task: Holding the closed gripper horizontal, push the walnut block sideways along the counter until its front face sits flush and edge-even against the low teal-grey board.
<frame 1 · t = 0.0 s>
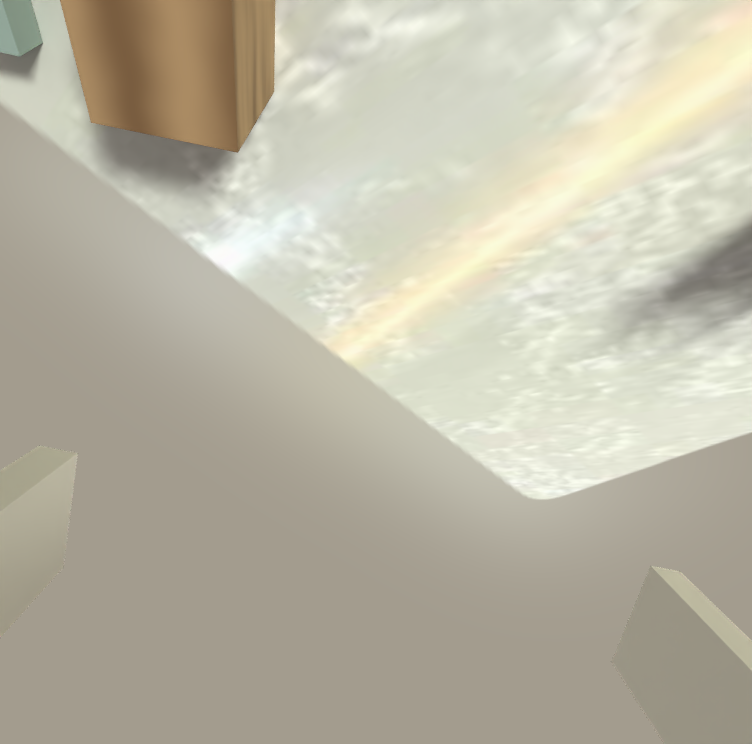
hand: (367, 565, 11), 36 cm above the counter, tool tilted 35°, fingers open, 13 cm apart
block: (209, 16, 35), on the counter
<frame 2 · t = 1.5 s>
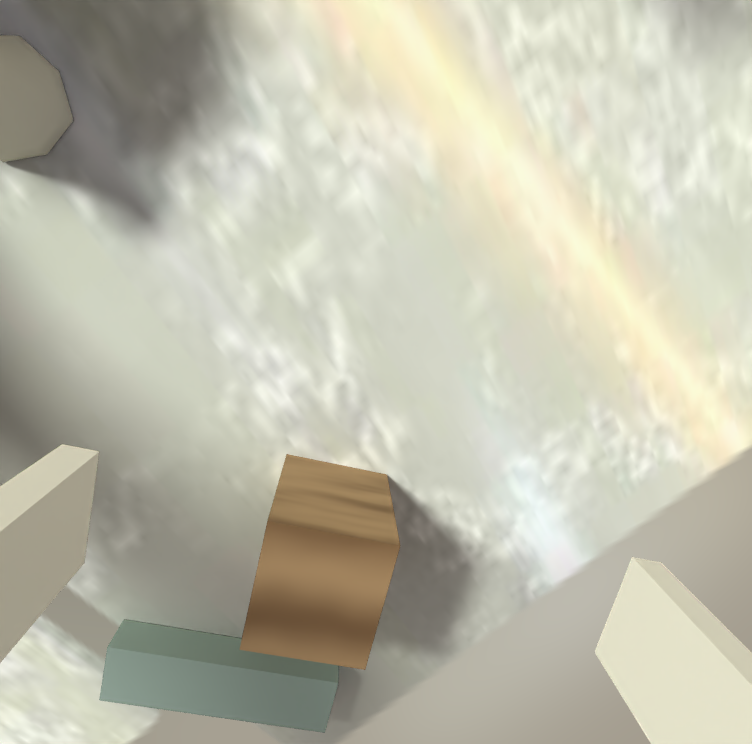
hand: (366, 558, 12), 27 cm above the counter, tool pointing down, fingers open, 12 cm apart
block: (324, 515, 41), on the counter
flask: (16, 102, 33), on the counter
board: (228, 661, 43), on the counter
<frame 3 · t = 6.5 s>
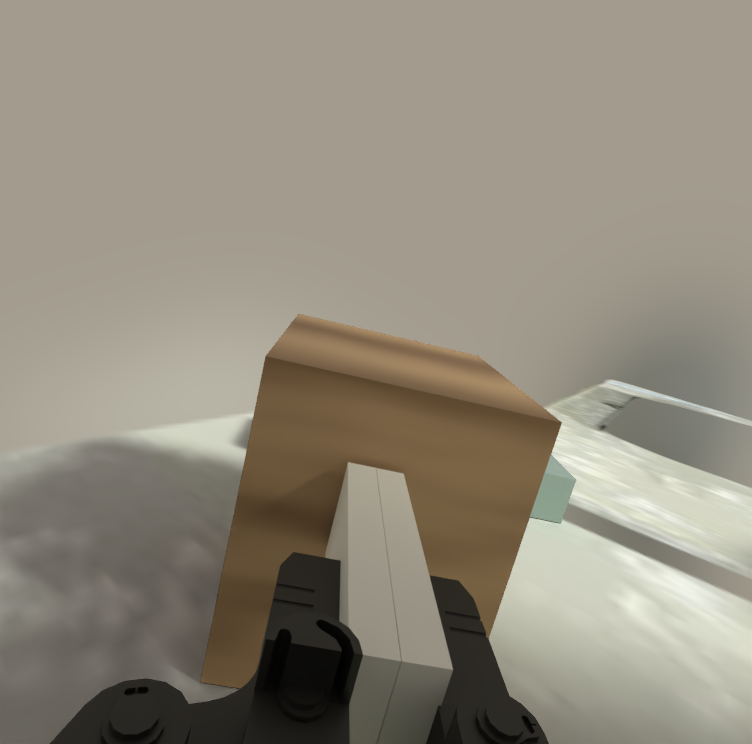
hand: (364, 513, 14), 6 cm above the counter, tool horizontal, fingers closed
block: (336, 602, 20), on the counter, touching gripper
board: (417, 477, 33), on the counter
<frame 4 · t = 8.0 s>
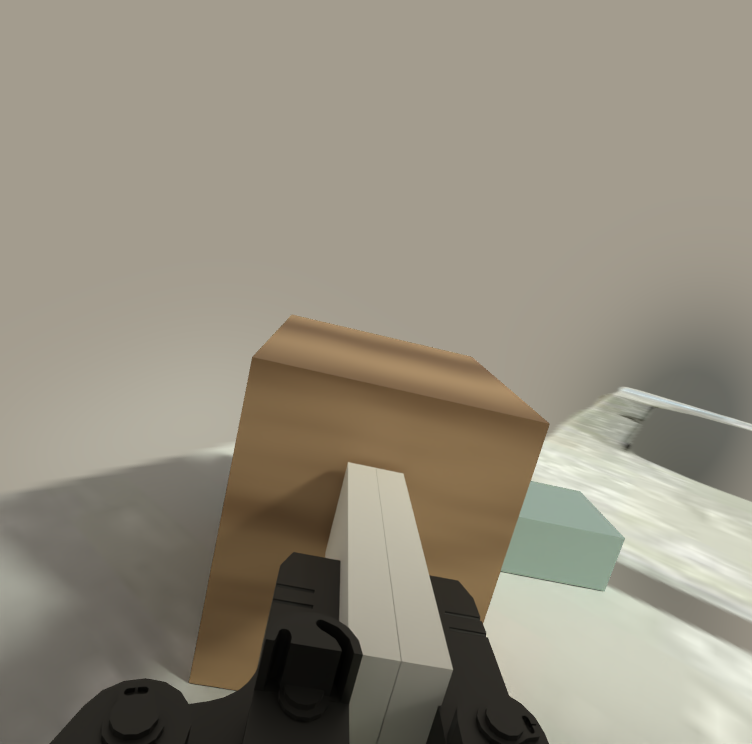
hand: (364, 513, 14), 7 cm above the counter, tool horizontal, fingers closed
block: (328, 603, 20), on the counter, touching board, gripper
board: (424, 530, 27), on the counter
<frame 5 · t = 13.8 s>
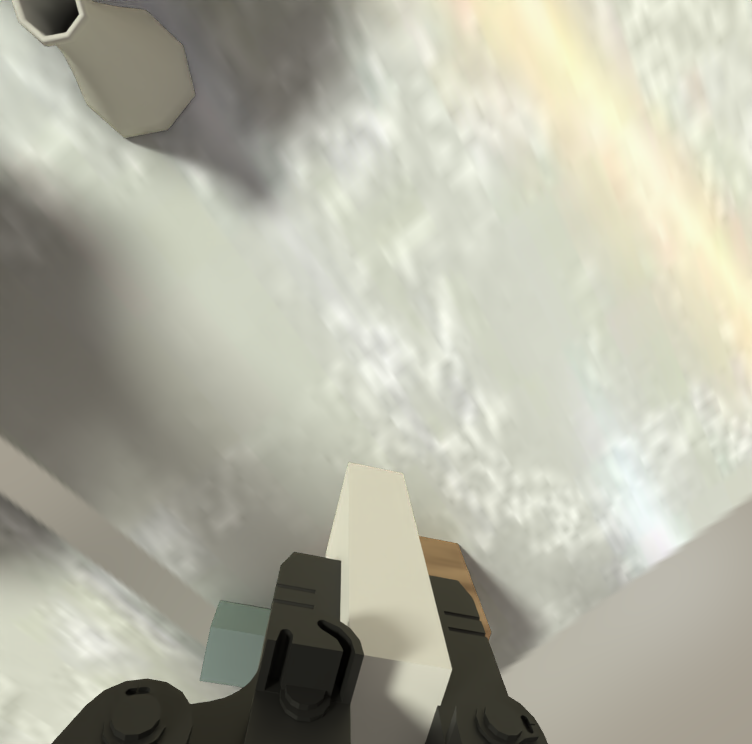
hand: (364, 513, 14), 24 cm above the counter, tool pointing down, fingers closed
block: (397, 582, 42), on the counter
flask: (138, 78, 33), on the counter
board: (321, 643, 43), on the counter
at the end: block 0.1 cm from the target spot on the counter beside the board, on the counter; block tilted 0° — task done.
